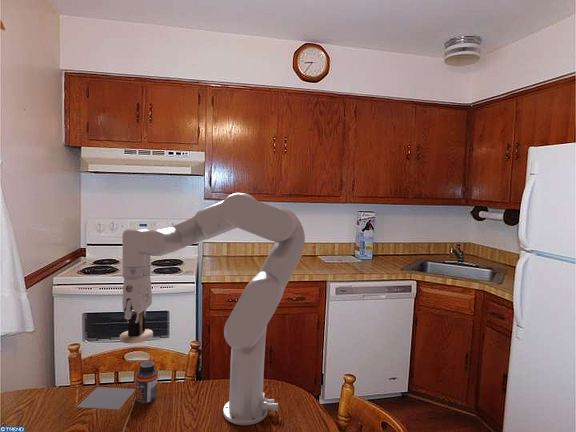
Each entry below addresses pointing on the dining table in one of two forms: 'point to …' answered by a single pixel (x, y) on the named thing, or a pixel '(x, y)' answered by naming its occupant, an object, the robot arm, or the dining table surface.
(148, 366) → the supplement bottle
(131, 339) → the lid
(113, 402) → the mat
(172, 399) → the dining table surface
